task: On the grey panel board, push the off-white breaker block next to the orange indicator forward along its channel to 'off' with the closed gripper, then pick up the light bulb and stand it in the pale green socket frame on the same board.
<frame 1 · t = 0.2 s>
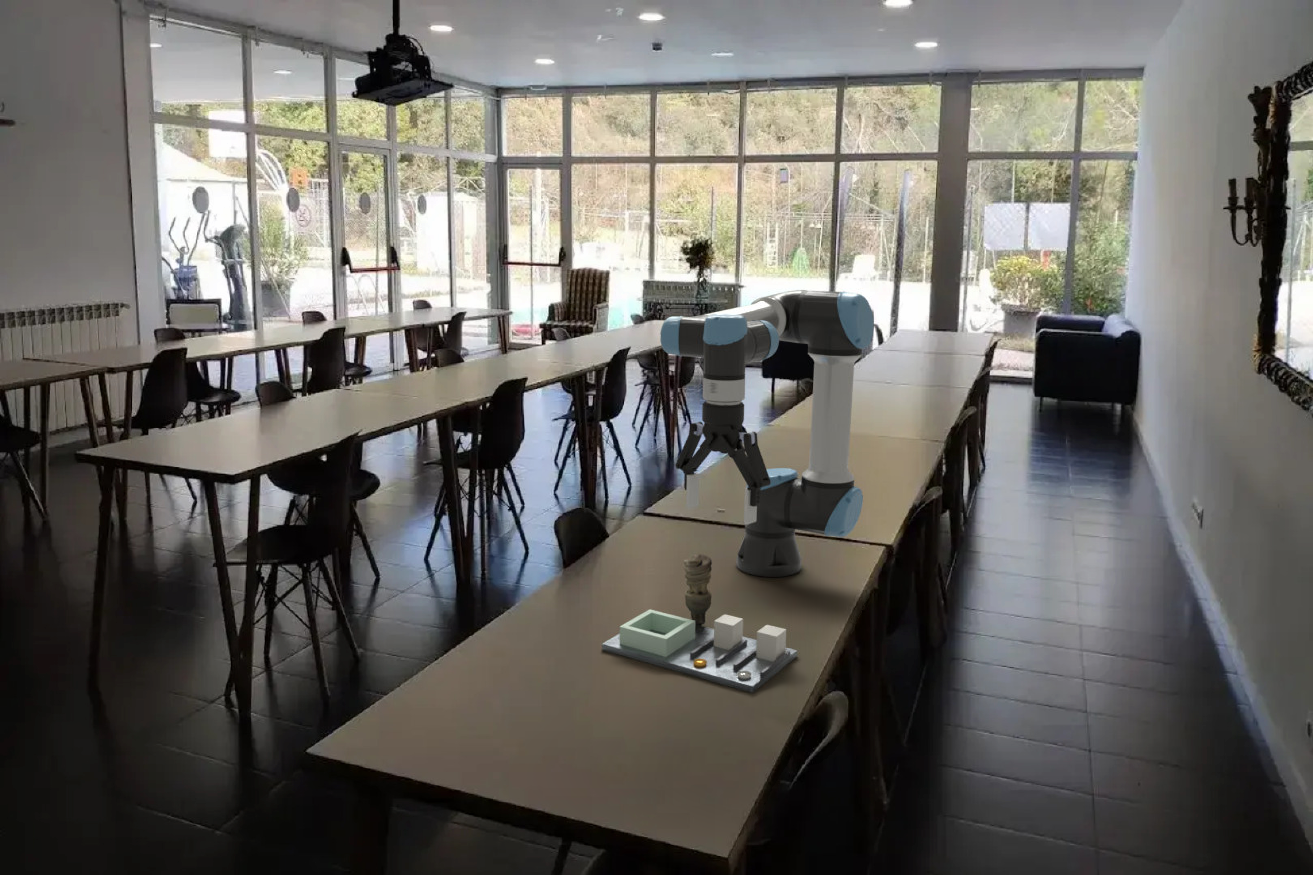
hand: (720, 515, 187), 27 cm above the table, fingers open, 13 cm apart
breaker b: (770, 662, 189), resting on panel
light bulb: (696, 626, 205), on the table
panel: (699, 653, 192), on the table
breaker a: (727, 651, 193), resting on panel
socket: (657, 646, 195), resting on panel
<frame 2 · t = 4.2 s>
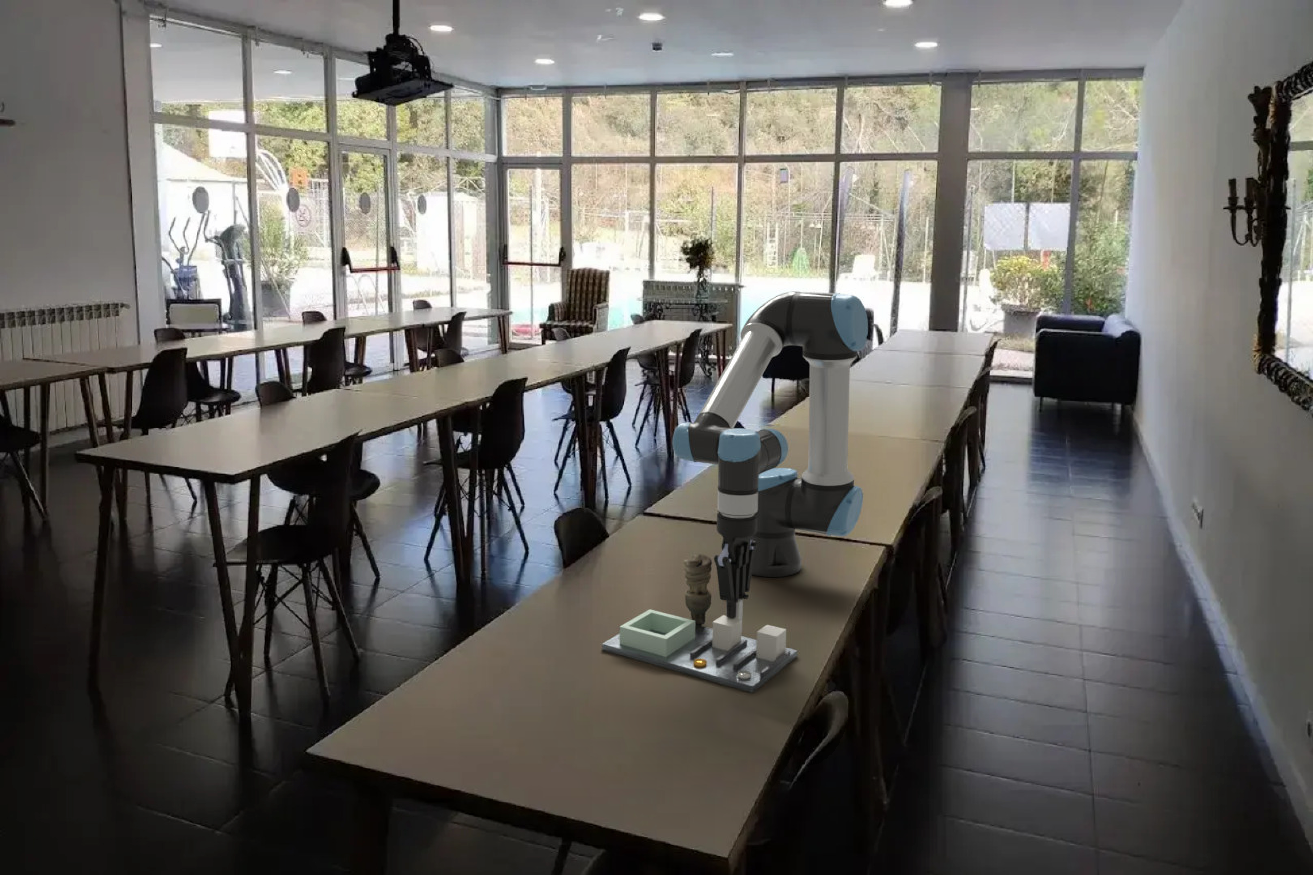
hand: (733, 631, 194), 3 cm above the table, fingers closed
breaker a: (726, 651, 193), resting on panel, touching gripper
everything else where it was.
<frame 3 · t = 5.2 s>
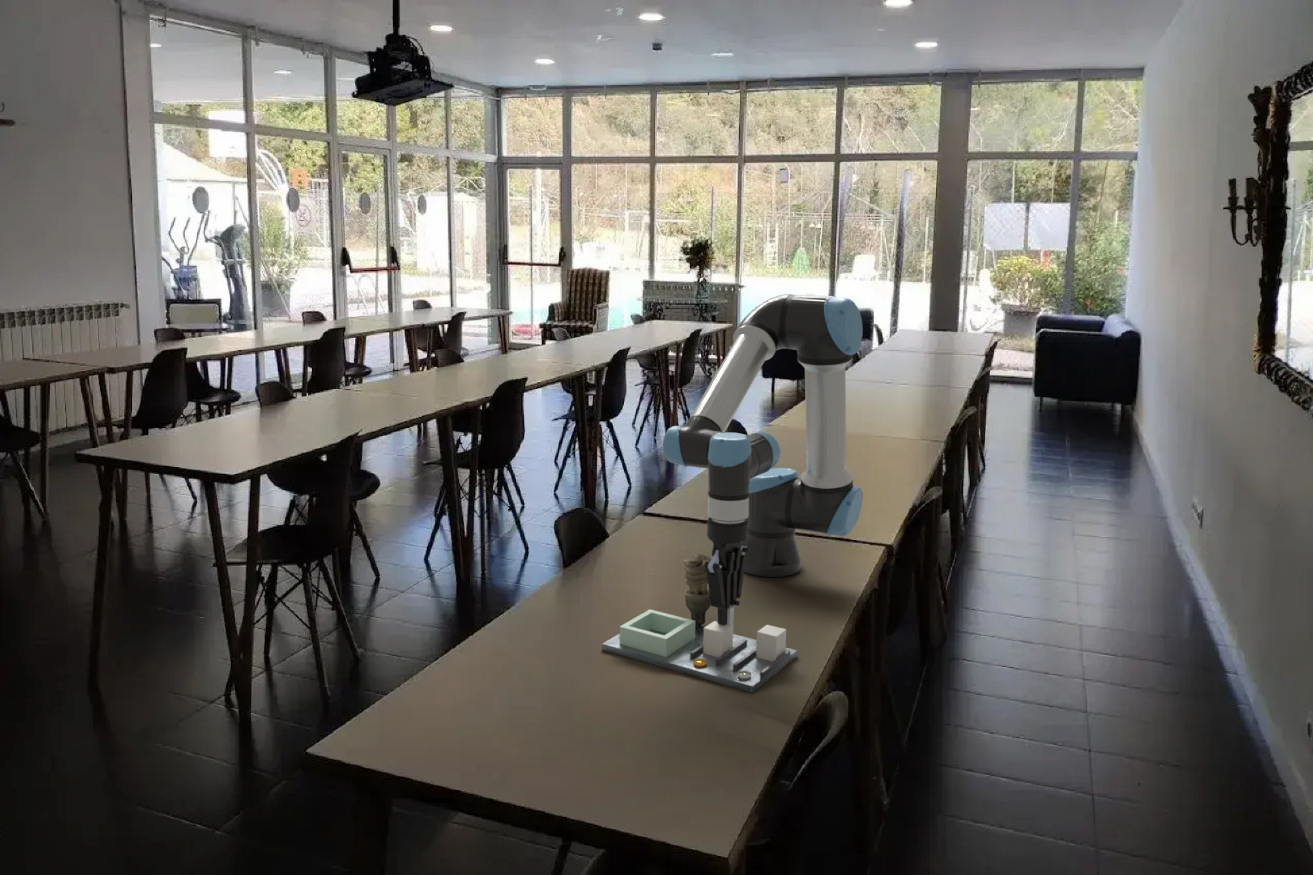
hand: (725, 638, 192), 3 cm above the table, fingers closed
breaker a: (717, 658, 190), resting on panel, touching gripper
everything else where it was.
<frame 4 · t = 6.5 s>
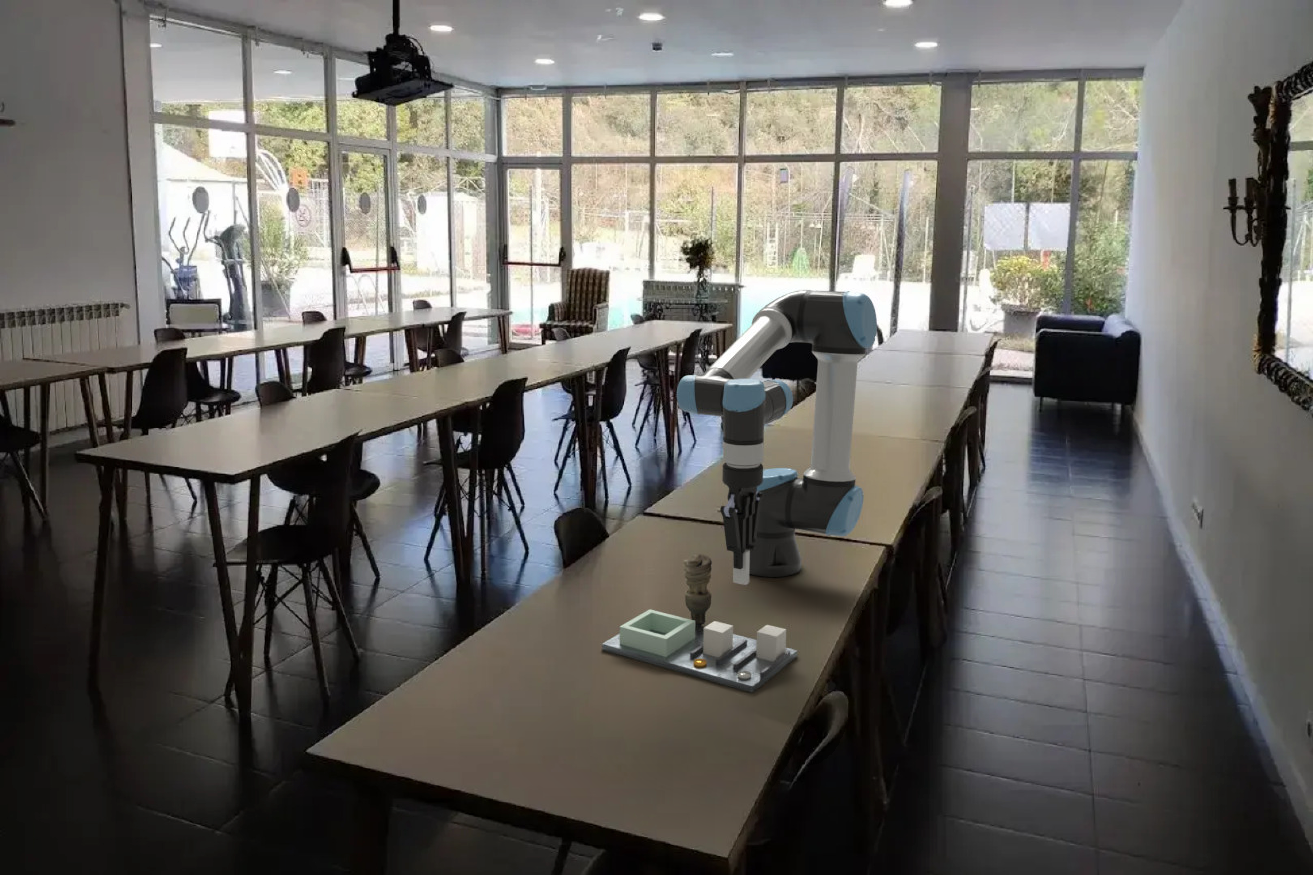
hand: (741, 582, 194), 12 cm above the table, fingers closed
breaker a: (717, 658, 190), resting on panel
everything else where it was.
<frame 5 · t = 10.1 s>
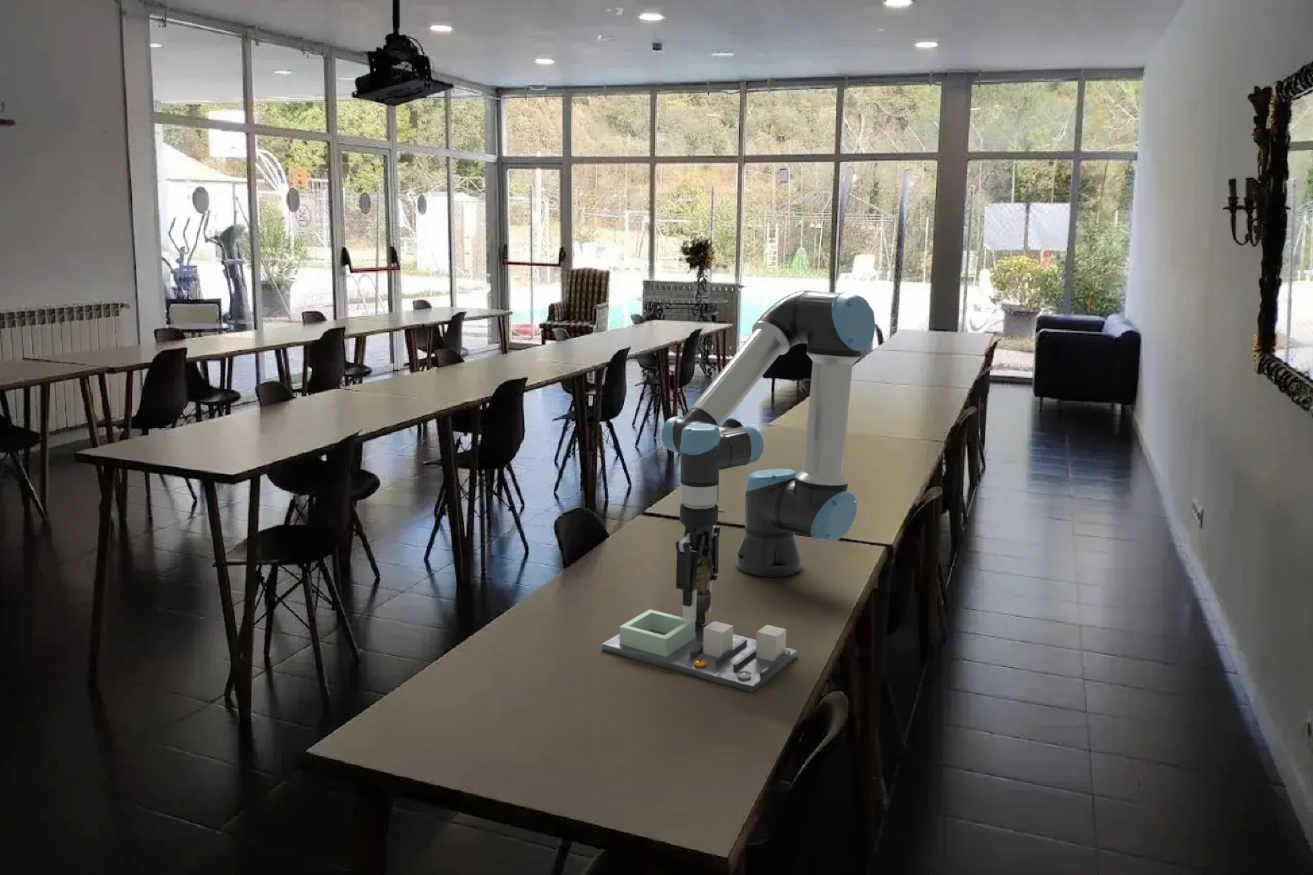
hand: (696, 615, 204), 2 cm above the table, fingers closed on light bulb, 5 cm apart
light bulb: (696, 626, 205), on the table, touching gripper
everything else where it was.
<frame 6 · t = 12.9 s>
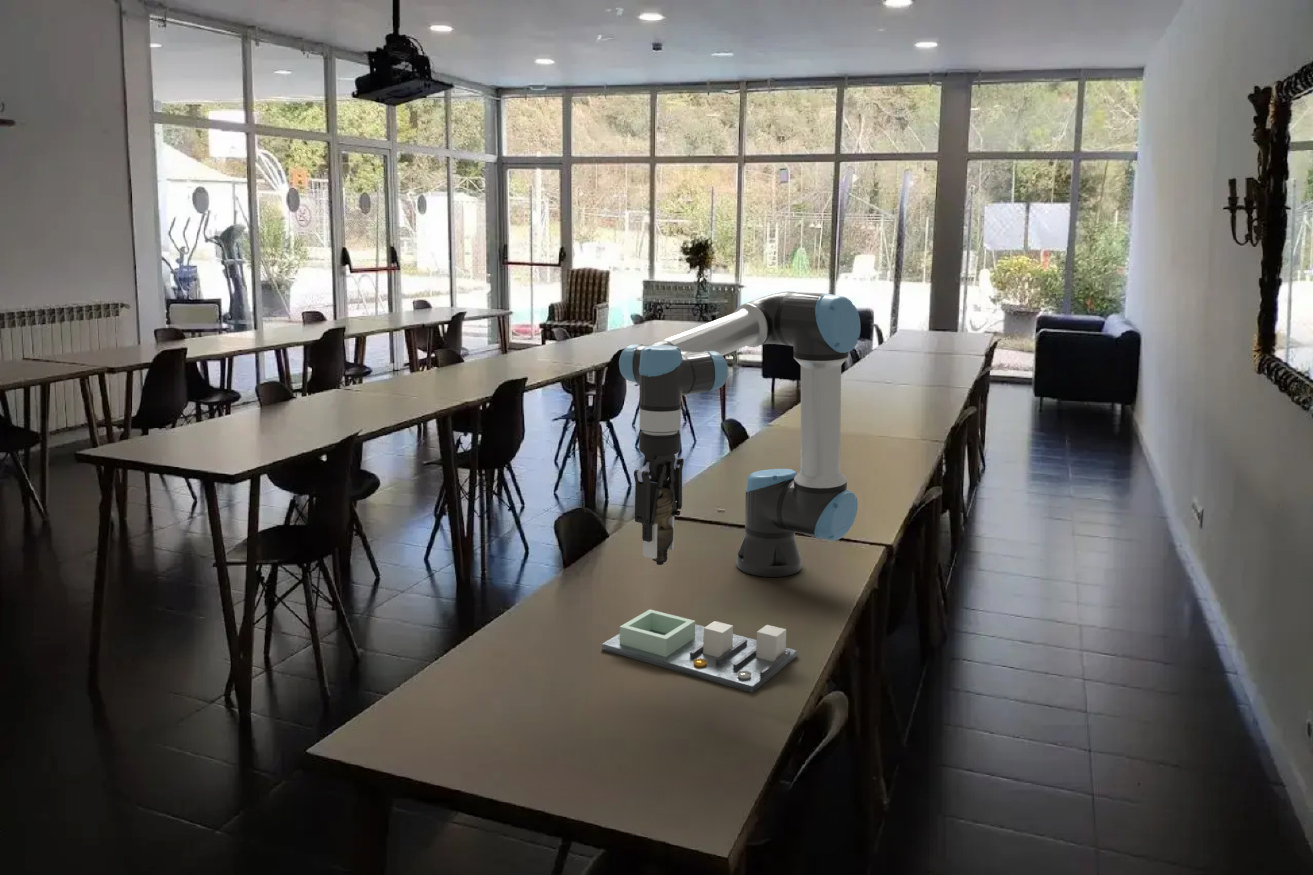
hand: (658, 552, 191), 19 cm above the table, fingers closed on light bulb, 5 cm apart
light bulb: (658, 564, 191), point 16 cm above the table, touching gripper
everything else where it was.
when the fingers open (5 cm above the table, at t = 15.5 s): light bulb drops 2 cm, resting on panel.
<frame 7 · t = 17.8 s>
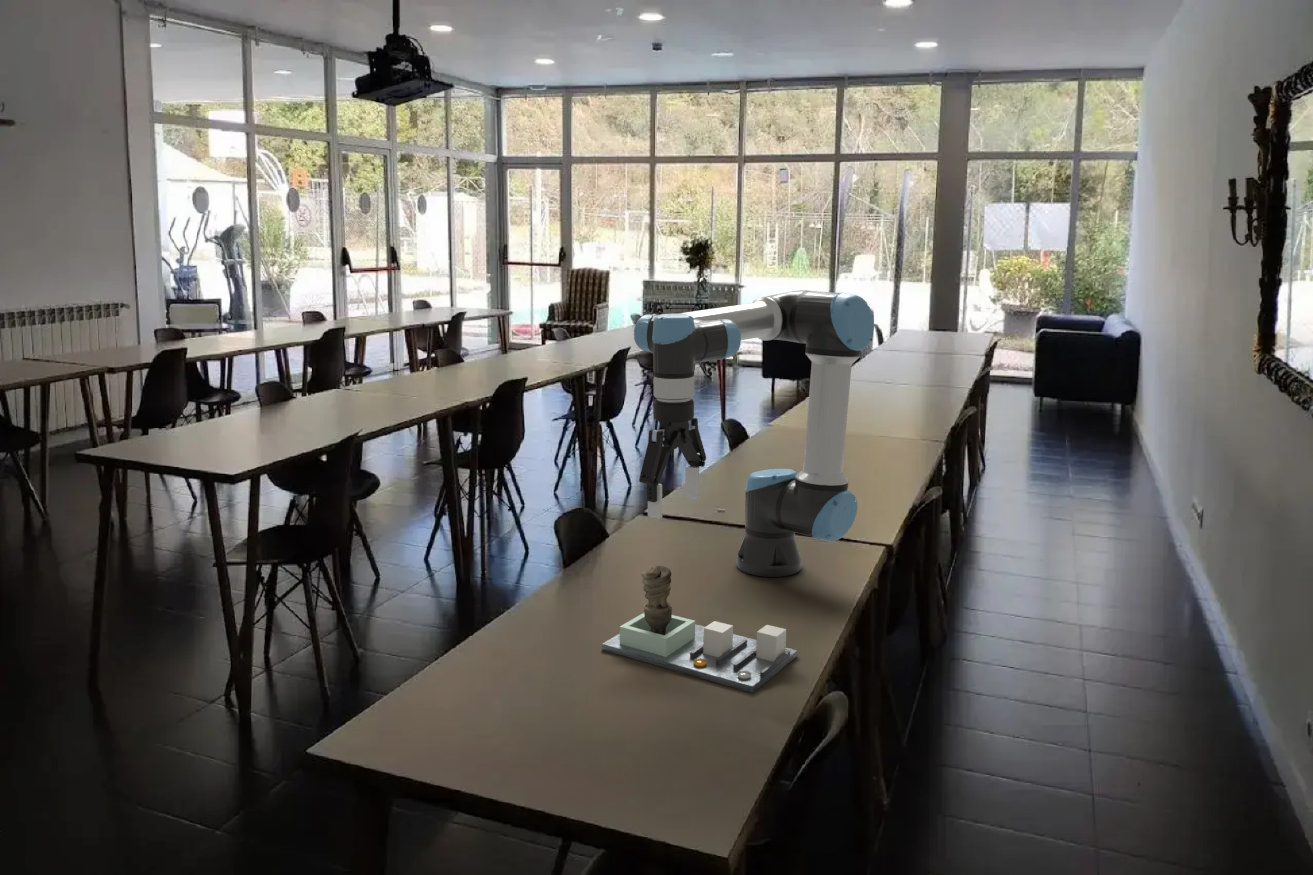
hand: (674, 508, 194), 26 cm above the table, fingers open, 13 cm apart
light bulb: (657, 642, 194), point 1 cm above the table, touching panel
everything else where it was.
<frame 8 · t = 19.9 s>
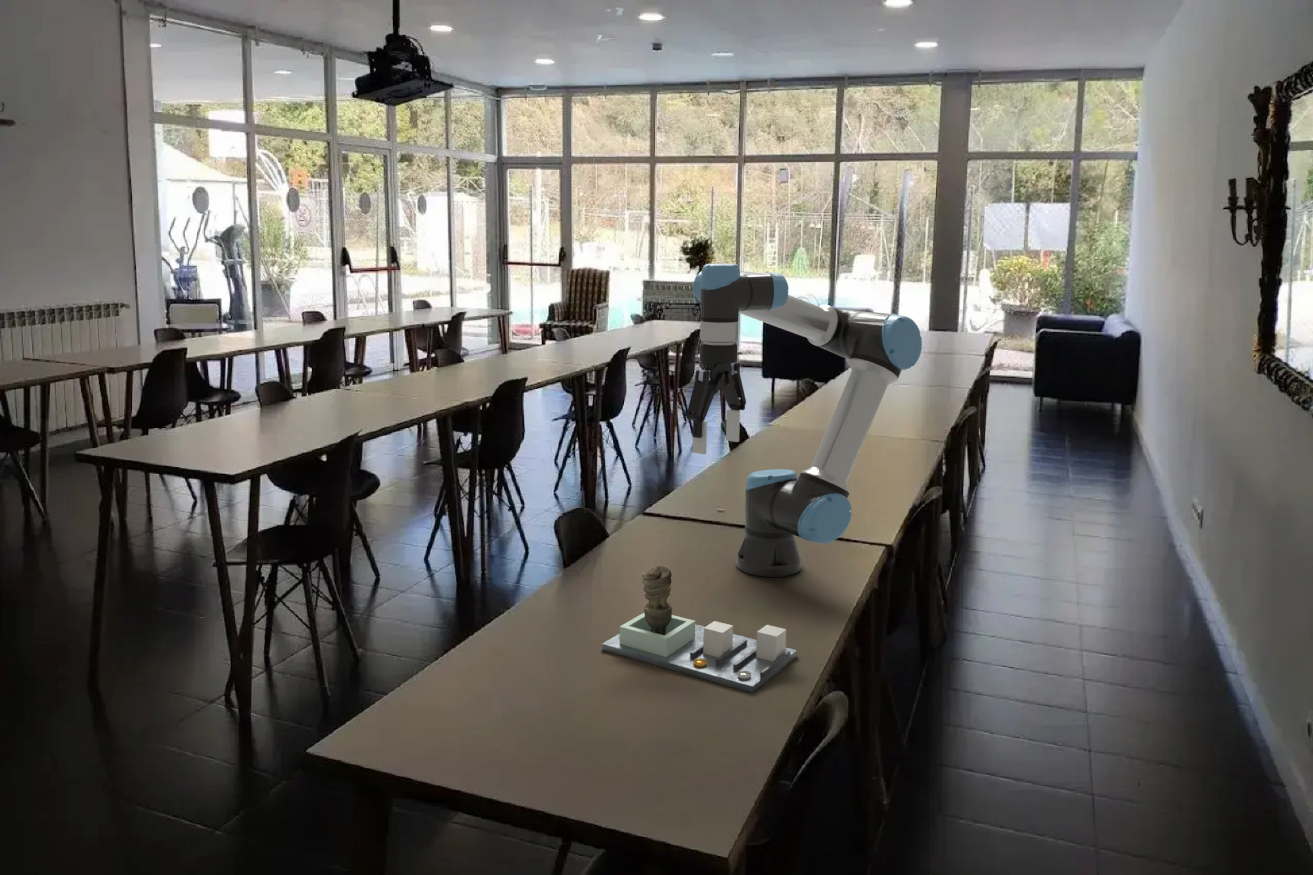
hand: (716, 447, 207), 35 cm above the table, fingers open, 13 cm apart
nothing on the table moved.
at the end: breaker a 2.0 cm from the target spot, resting on panel; light bulb inside the target area (0.2 cm from its centre), point 1.0 cm above the table; light bulb tilted 2° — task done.
